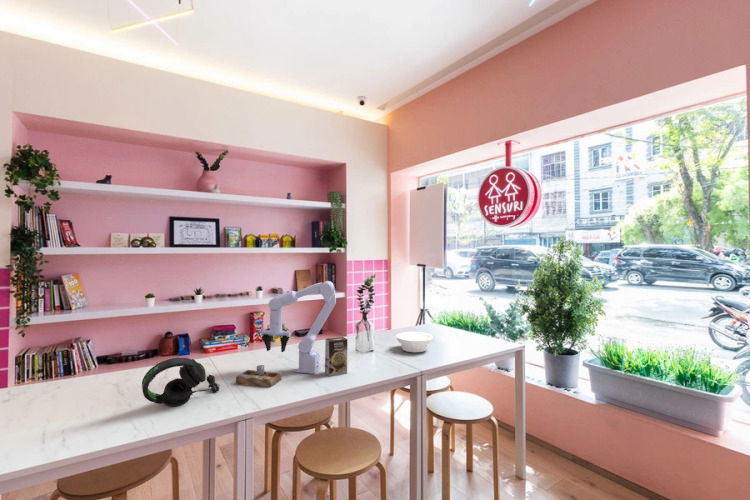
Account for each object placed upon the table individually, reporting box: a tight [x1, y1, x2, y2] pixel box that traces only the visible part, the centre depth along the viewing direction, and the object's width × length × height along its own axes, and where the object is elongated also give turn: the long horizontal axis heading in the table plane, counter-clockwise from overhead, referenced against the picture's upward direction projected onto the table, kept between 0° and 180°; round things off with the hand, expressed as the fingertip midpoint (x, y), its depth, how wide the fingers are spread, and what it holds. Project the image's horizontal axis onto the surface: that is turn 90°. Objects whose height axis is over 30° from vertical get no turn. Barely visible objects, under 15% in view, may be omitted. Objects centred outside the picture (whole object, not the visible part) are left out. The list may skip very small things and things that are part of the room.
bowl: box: [395, 331, 434, 353], centre depth 201 cm, size 21×21×8 cm
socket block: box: [235, 369, 282, 388], centre depth 151 cm, size 17×9×3 cm, turn 77°
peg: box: [256, 364, 265, 376], centre depth 152 cm, size 3×3×6 cm
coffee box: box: [324, 336, 348, 377], centre depth 162 cm, size 9×6×16 cm
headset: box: [141, 357, 221, 408], centre depth 131 cm, size 18×14×29 cm
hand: (275, 350), depth 165 cm, fingers open, 7 cm apart
